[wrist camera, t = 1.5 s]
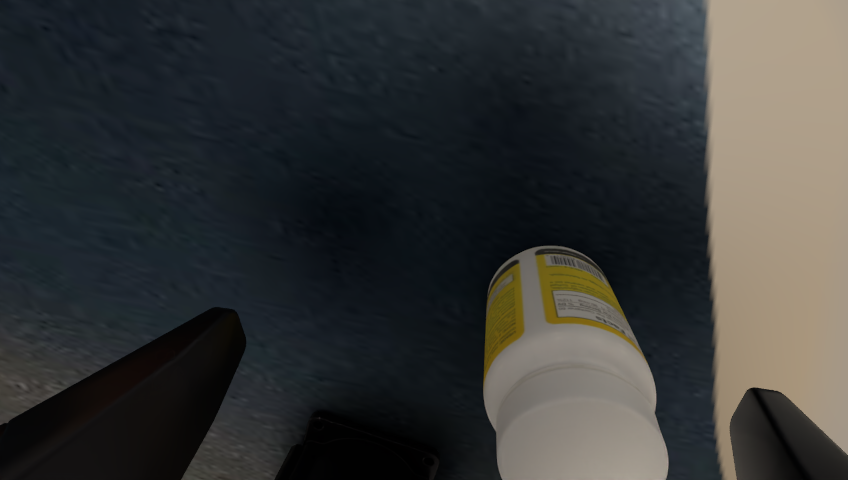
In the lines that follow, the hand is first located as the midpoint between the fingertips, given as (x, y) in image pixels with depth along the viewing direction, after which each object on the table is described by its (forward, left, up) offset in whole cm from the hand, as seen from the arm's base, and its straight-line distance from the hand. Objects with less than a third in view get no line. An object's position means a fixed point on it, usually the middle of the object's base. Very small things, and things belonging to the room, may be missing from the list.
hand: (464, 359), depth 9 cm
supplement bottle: (-4, +3, -10) cm, 12 cm away
